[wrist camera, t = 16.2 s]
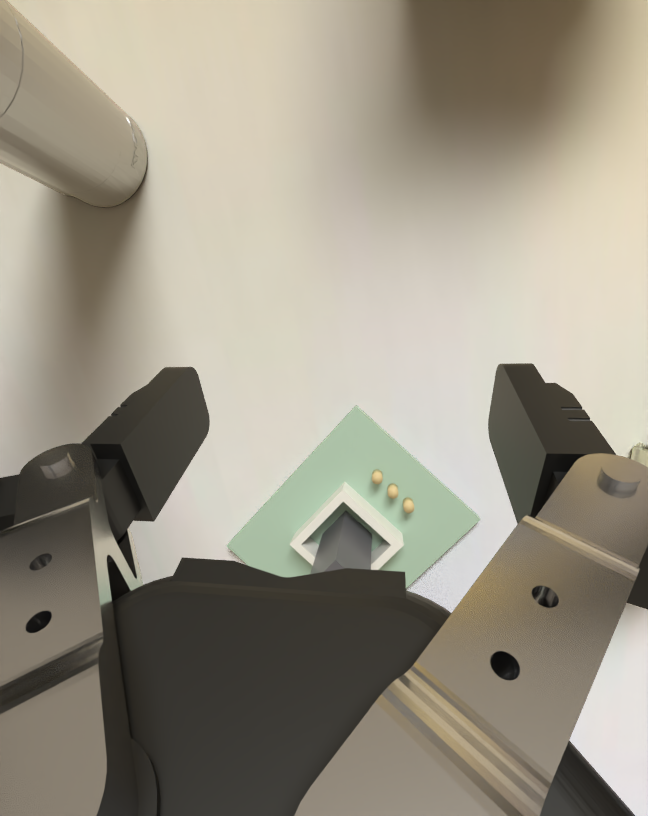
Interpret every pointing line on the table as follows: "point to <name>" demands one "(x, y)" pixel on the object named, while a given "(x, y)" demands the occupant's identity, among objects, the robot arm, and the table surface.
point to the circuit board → (356, 506)
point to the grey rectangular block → (344, 546)
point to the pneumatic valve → (640, 454)
